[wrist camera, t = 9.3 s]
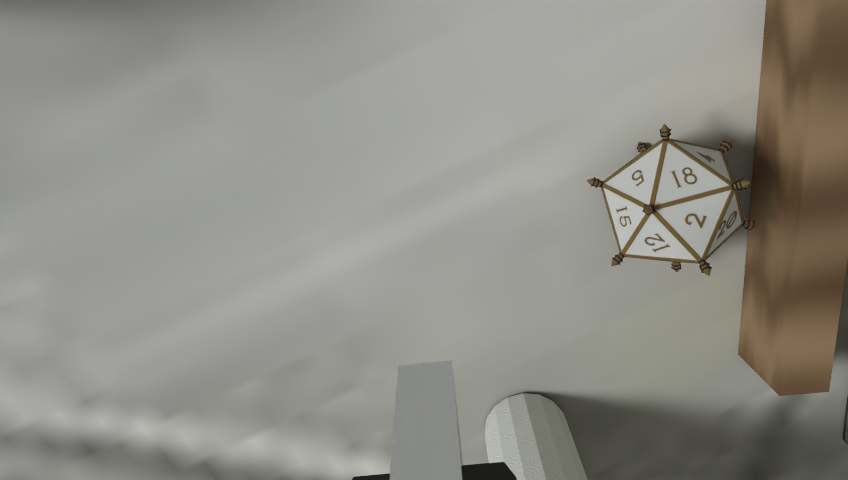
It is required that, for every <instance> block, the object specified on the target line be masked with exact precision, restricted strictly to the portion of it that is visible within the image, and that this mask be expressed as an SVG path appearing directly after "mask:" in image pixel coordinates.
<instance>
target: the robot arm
mask: <svg viewBox="0 0 848 480" xmlns="http://www.w3.org/2000/svg"><path fill="white" fill-rule="evenodd" d="M352 480H517V478H516V476H515V475H514V474H513V472H512V471H511V470H510V469H509V467H508V466H507V465H506V464H505V462H496V463H485V464H474V465H463V463H462V452H461V442H460V432H459V423H458V414H457V405H456V396H455V387H454V378H453V369H452V360H451V361H441V362H430V363H420V364H410V365H400V366H398V377H397V390H396V403H395V416H394V430H393V443H392V456H391V469H390V474H380V475H369V476H358V477H353V479H352Z"/></svg>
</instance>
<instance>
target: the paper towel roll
mask: <svg viewBox="0 0 848 480" xmlns="http://www.w3.org/2000/svg"><path fill="white" fill-rule="evenodd" d="M485 439H486V446H487V453H488V460H489V463H496V462H505V464H506V465H507V466H508V467H509V469H510V470H511V471H512V472H513V474H514V475H515V476H516V478H517V480H587V477H586V474H585V471H584V468H583V466H582V463H581V460H580V457H579V455H578V452H577V449H576V446H575V444H574V441H573V438H572V435H571V433H570V430H569V427H568V424H567V421H566V419H565V416H564V413H563V412H562V411H561V409H560V408H559V407H558V406H557V405H556V404H555V403H554V402H553V401H552V400H550V399H548V398H546V397H543V396H541V395H539V394H528V393H521V394H518V395H514V396H510V397H507V398H506V399H504V400H503V401H501V402H500V403H498V404H497V405H495V406H494V408H493V410H492V411H491V413H490V414H489V416H488V417H487V420H486V427H485Z"/></svg>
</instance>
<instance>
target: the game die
mask: <svg viewBox="0 0 848 480" xmlns="http://www.w3.org/2000/svg"><path fill="white" fill-rule="evenodd" d="M670 130H671V129H669V128H668V127H667V126H666V125H665V124H664V125H663V127H662V129H660V133H661V137H662V138H663V139H662V140H661V141H659V142H657V143H656V144H654V145H653V146H651V147H650V148H648V149H647V148H646V146H645V144H644V143H640V142H639V144H638V147H637V149H638V150H639V151H638V152H640V153H641V154H639V155H638V156H637V157H635V158H634V159H633V160H631V161H630V162H629V163H627V164H626V165H625V166H623V167H622V168H621V169H619V170H618V171H616V172H615V173H614V174H612V175H611V176H610V177H608V178H607V179H606V180H604V181H600V180H599V179H596V178H595V177H594V178H593V179H589V180H587V181H588V182H589V183H590V185H591V186H595V187H601V189H602V192H603V196H604V199H605V203H606V206H607V210H608V213H609V217H610V220H611V224H612V227H613V230H614V234H615V237H616V241H617V244H618V248H619V251H620V253H619V254H618V255H615V257H614V258H612V259H613V260H612V264H611V266H614V265H618V264H619V265H620V262H621V261H622V260H623V258H624V257H633V258H642V259H652V260H661V261H671V262H673V263H672V264H671V265H672V267H671V268H672V269H674V270H675V271H676V272H678V271H679V270H680V269H681V264H680V262H684V263H699V264H700V266H699V267H700V269H701V271H702V273H705V274H707V275H708V276H710V271H711V268H712V267H710V266H709V265H710V264H709V263H707V262H706V259H707V258H708V257H710V256H711V255H712V254H713V253H714V252H715V251H716V250H717V249H718V248H719V247H720V246H721V245H722V244H723V243H724V242H725V241H726V240H727V239H728V238H729V237H730V236H731V235H732V234H733V233H734V232H735V231H736V230H737V229H739V228H740V227H741V226H743V227H745V229H749V230H750V231H751V229H755V228H758V226H757V225H756V223H755V221H750V220H747V221H745V220H744V218H743V214H742V210H741V205H740V201H739V196H738V192H737V189H738V190H742V189H747V186H748V185H749V184H750V182H749V181H746V180H744V179H741V180H738V181H737V182H735V181H734V179H733V176H732V173H731V171H730V168H729V166H728V163H727V160H726V158H725V155H724V152H725V151H728V150H729V148H731V147H732V140H729V141H723V144H721V145H720V149H714V148H710V147H705V146H701V145H696V144H691V143H687V142H682V141H678V140H673V139H669V136H670V135H671V133H670Z"/></svg>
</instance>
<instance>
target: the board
mask: <svg viewBox="0 0 848 480" xmlns="http://www.w3.org/2000/svg"><path fill="white" fill-rule="evenodd" d="M749 220H750V221H755V223H756V225H757V226H758V228H755V229H751V231H750V230H749V229H748V240H747V252H746V265H745V277H744V289H743V302H742V314H741V327H740V339H739V352H738V355H739V356H740V357H741V358H742V359H743V360H744V361H745V362H746V363H747V364H748V365H749V366H750V367H751V368H752V369H753V370H754V371H755V372H756V373H757V374H758V375H759V376H760V377H761V378H762V379H763V380H764V381H765V382H766V383H767V384H768V385H769V386H770V387H771V388H772V389H773V390H774V391H775V392H776V393H777V394H778V395H779V396H783V395H795V394H806V393H818V392H829V387H830V380H831V373H832V366H833V359H834V352H835V345H836V338H837V331H838V324H839V317H840V310H841V303H842V296H843V289H844V282H845V275H846V268H847V261H848V0H767V3H766V15H765V28H764V40H763V53H762V65H761V78H760V90H759V103H758V115H757V127H756V140H755V152H754V165H753V177H752V190H751V202H750V215H749Z"/></svg>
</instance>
